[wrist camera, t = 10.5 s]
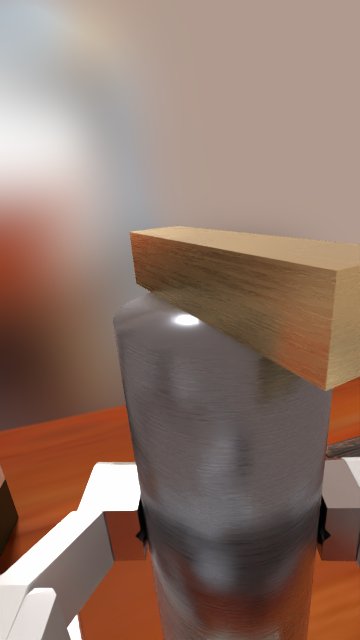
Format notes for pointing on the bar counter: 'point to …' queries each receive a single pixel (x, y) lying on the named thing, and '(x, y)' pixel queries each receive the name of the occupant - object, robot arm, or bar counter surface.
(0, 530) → the wine bottle
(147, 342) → the t key
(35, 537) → the bar counter surface
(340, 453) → the hardcover book
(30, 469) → the bar counter surface
